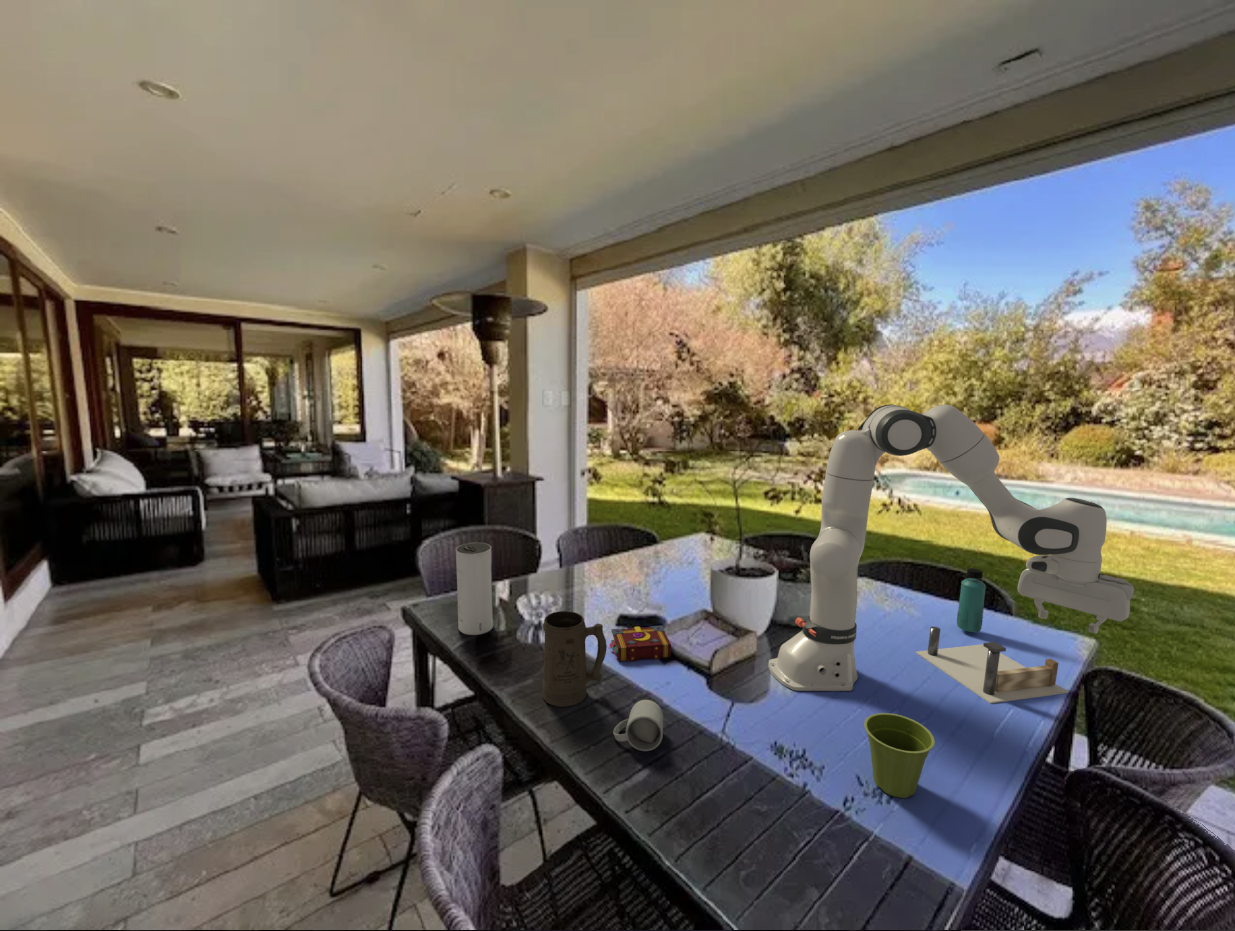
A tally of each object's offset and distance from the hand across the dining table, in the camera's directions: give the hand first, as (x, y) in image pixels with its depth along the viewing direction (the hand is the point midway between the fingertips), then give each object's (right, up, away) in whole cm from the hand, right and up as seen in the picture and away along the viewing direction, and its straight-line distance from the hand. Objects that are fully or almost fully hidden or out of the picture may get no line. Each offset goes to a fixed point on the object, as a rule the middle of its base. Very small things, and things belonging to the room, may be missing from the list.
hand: (1067, 624), depth 129 cm
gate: (-4, -18, +8) cm, 20 cm away
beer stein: (-116, -18, +5) cm, 118 cm away
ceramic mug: (-101, -22, -11) cm, 104 cm away
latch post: (-17, -16, +25) cm, 34 cm away
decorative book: (-100, -15, +26) cm, 104 cm away
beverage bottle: (+1, -14, +39) cm, 41 cm away
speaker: (-149, -13, +39) cm, 154 cm away
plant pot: (-53, -24, -24) cm, 63 cm away
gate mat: (-8, -17, +17) cm, 25 cm away
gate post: (-14, -19, +6) cm, 24 cm away
